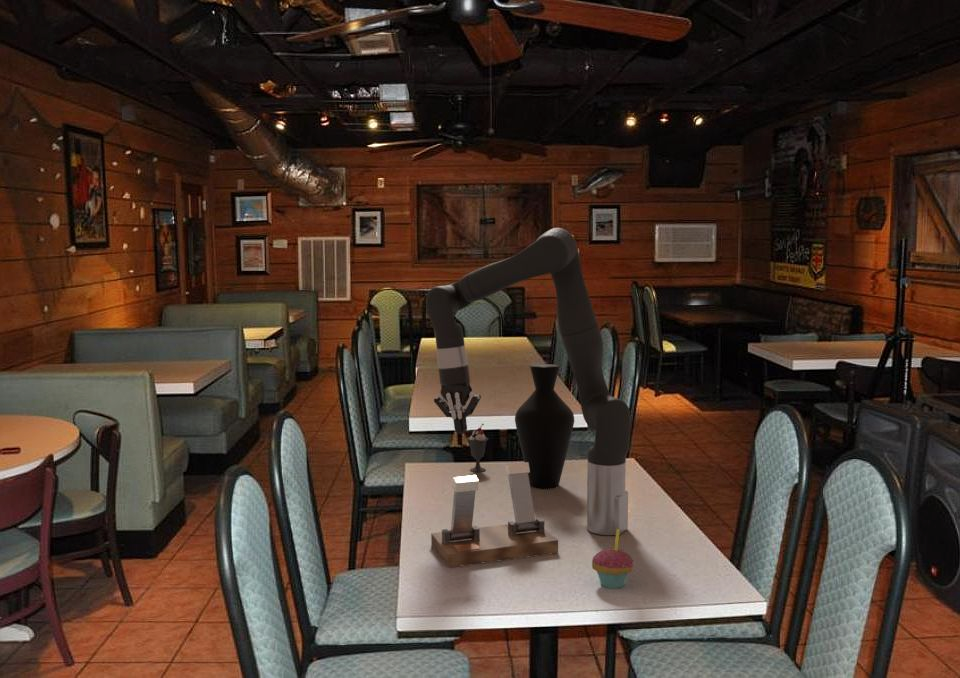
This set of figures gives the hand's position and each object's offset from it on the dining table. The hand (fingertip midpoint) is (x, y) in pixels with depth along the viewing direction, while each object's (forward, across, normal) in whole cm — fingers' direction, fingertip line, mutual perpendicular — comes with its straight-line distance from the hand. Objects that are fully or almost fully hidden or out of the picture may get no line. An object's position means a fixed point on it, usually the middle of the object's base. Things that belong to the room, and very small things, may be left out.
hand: (461, 433), depth 209 cm
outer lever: (+20, -8, +20) cm, 29 cm away
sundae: (+21, +21, -44) cm, 53 cm away
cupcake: (+29, -44, +20) cm, 56 cm away
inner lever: (+22, -19, +9) cm, 31 cm away
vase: (+24, -3, -38) cm, 45 cm away
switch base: (+24, -13, +14) cm, 31 cm away
